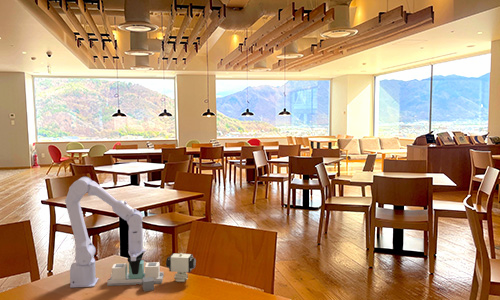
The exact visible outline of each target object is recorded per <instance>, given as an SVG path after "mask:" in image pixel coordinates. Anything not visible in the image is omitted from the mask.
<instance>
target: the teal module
mask: <svg viewBox="0 0 500 300" xmlns="http://www.w3.org/2000/svg"><path fill="white" fill-rule="evenodd" d="M128 273H129V279H142V278H143V277H144V273H145V260H144V259H142V260H141V261H140V265H139V271H138V274H132V270H131V266H130V264H129V263H128Z"/></svg>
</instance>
